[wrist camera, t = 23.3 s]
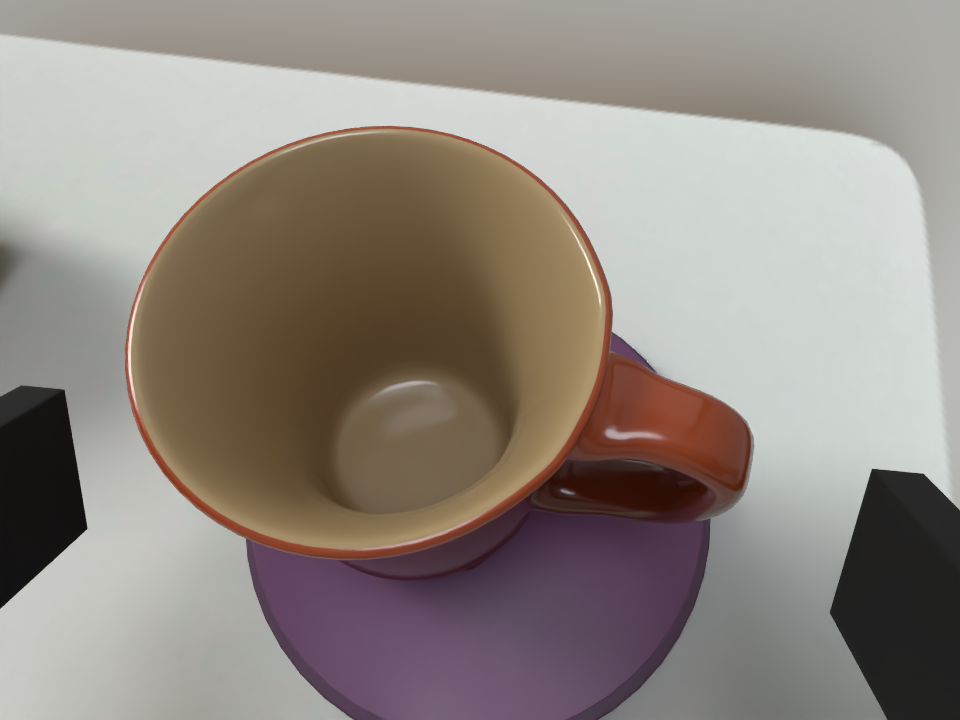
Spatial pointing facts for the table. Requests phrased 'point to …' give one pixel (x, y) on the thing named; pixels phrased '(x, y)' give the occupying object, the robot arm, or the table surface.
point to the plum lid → (493, 620)
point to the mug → (406, 362)
